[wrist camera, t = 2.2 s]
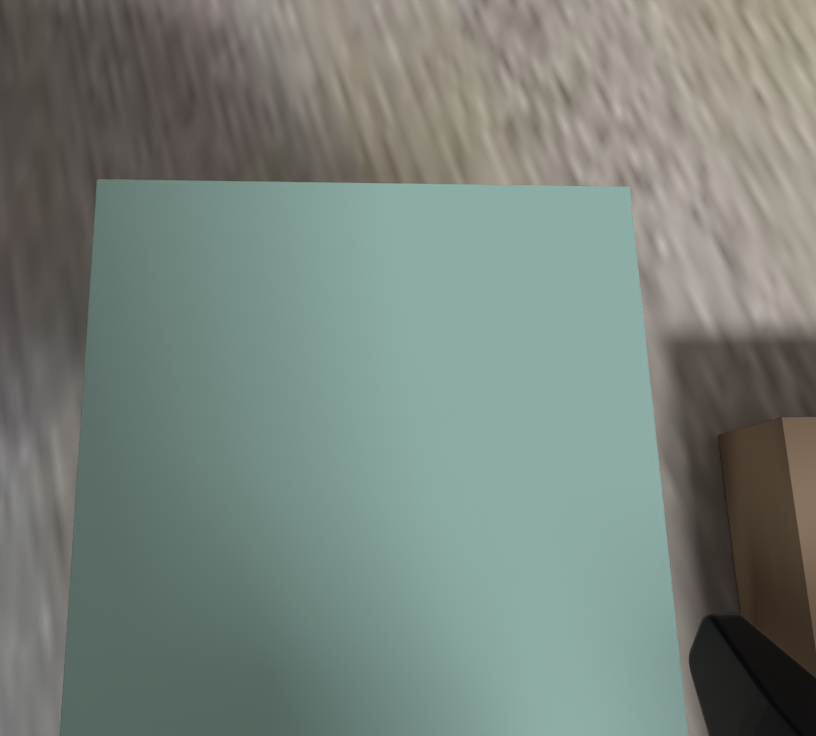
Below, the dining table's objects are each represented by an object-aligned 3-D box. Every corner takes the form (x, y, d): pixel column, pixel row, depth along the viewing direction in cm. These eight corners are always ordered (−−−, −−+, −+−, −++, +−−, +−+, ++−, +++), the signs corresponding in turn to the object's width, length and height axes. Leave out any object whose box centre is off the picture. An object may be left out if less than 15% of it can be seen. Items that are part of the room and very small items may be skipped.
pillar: (450, 608, 19) (689, 745, 6) (249, 617, 18) (56, 784, 6) (442, 412, 20) (629, 186, 7) (252, 414, 19) (96, 178, 7)
